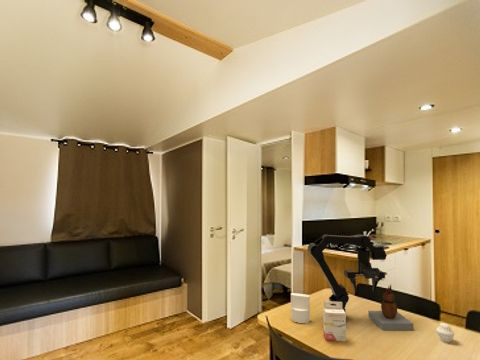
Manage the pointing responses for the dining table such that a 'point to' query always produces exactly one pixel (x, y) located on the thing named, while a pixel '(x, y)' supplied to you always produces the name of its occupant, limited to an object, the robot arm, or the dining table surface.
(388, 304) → the wooden figurine
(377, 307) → the dining table surface
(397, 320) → the plinth
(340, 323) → the ink cartridge box
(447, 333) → the muffin
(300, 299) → the base with upright slab
